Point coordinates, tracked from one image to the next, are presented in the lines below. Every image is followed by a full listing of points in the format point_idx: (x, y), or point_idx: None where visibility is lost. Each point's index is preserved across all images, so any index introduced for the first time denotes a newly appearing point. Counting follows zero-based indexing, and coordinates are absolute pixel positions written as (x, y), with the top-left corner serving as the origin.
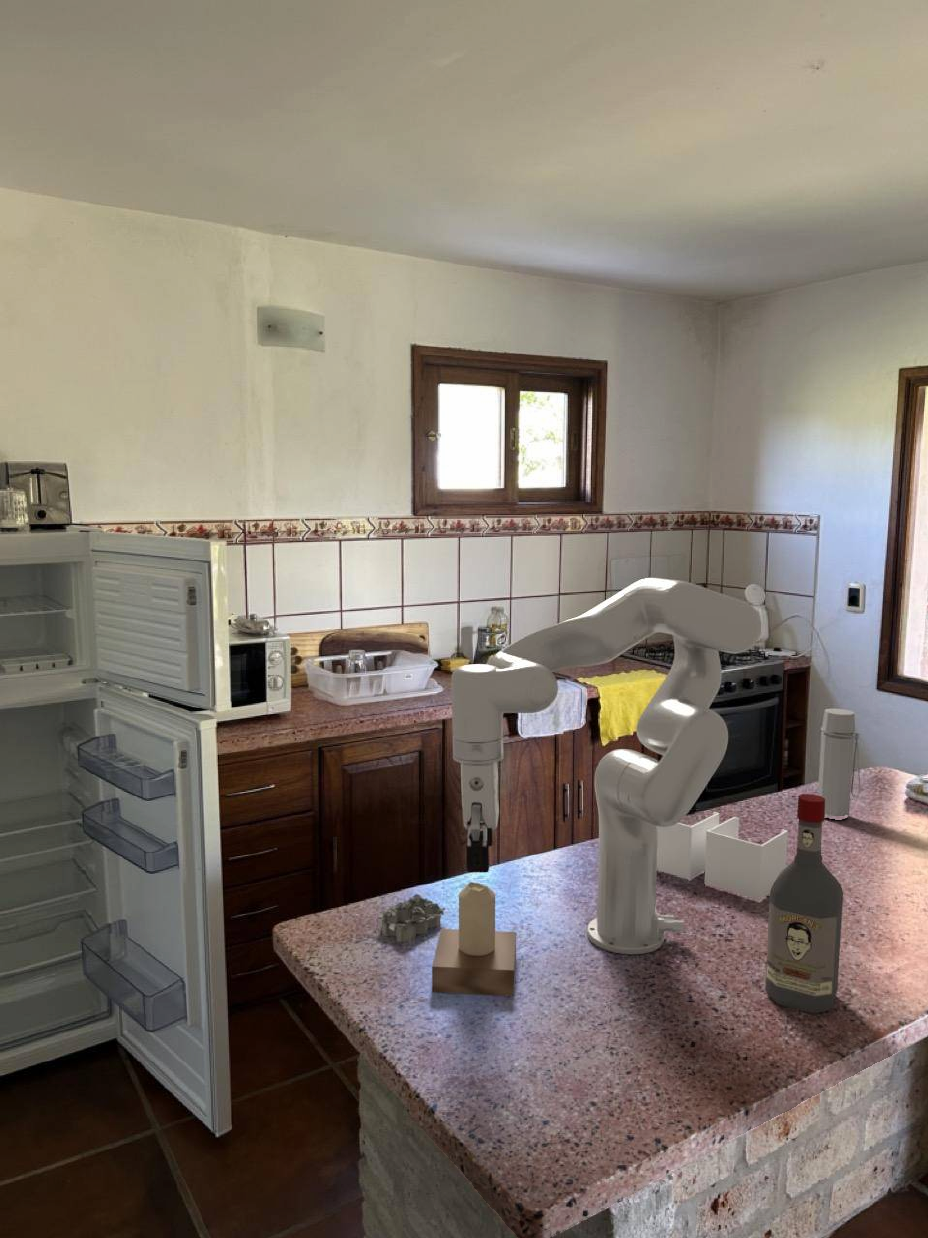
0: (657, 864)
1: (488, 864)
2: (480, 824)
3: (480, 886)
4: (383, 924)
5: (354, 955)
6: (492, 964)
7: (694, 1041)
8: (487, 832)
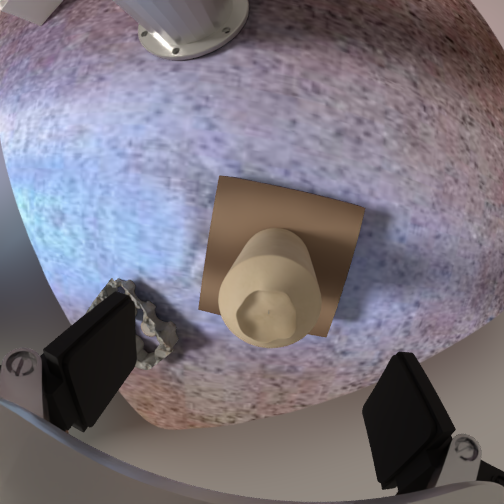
0: (50, 7)
1: (423, 370)
2: (84, 401)
3: (248, 300)
4: (155, 362)
5: (213, 389)
6: (340, 242)
7: (445, 35)
8: (100, 348)
